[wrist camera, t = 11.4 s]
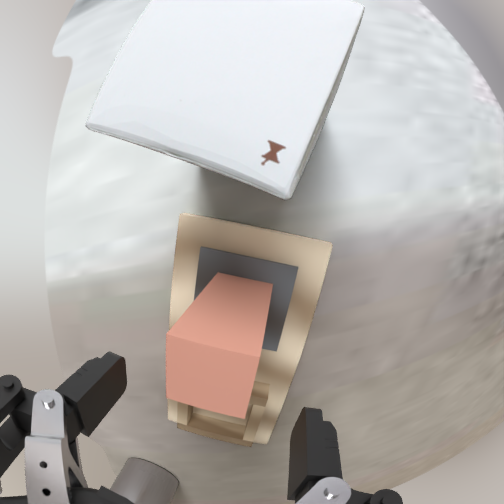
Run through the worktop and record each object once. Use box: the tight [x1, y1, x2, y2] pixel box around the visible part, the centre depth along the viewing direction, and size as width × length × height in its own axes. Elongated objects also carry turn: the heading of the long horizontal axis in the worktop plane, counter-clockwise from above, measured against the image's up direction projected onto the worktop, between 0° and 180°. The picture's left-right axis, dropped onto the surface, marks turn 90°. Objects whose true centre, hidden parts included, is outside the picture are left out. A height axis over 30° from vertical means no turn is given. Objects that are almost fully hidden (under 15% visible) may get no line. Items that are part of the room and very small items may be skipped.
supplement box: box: [86, 0, 365, 200], centre depth 12 cm, size 7×7×13 cm
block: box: [166, 273, 273, 419], centre depth 15 cm, size 4×4×9 cm
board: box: [168, 213, 333, 447], centre depth 21 cm, size 22×11×3 cm, turn 169°
